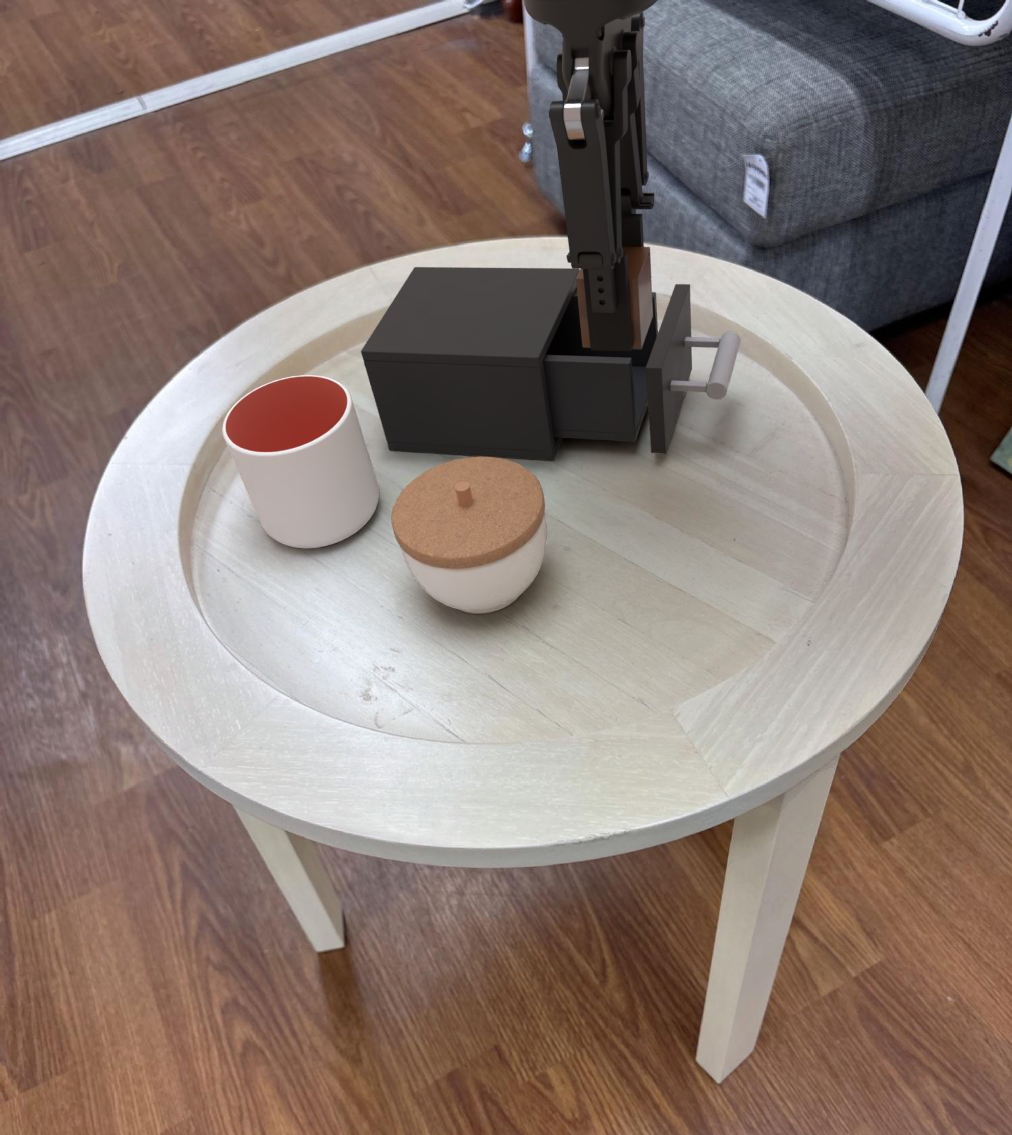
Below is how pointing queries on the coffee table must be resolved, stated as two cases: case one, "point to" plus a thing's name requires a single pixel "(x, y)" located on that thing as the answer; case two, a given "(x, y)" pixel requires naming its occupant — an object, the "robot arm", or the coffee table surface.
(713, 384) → the pull-out drawer
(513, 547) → the trinket box
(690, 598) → the coffee table surface
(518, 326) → the dark drawer box
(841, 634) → the coffee table surface
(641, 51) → the robot arm
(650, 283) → the block
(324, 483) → the cup
